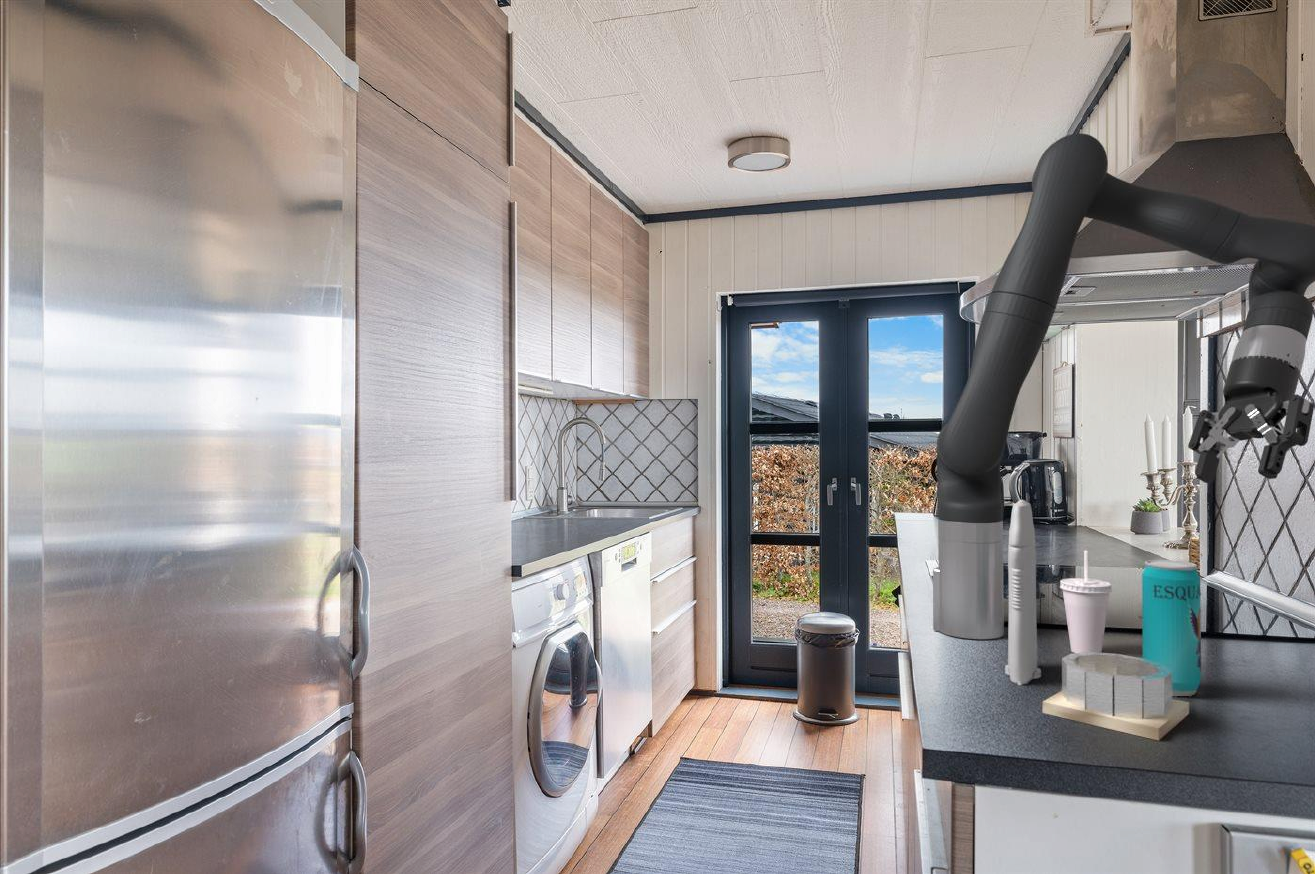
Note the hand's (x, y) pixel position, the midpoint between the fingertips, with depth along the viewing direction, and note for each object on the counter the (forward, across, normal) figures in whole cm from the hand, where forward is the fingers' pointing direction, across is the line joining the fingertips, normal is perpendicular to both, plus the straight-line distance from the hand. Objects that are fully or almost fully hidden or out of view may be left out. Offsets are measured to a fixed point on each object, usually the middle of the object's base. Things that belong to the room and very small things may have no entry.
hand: (1234, 478), depth 102 cm
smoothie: (+26, -15, 0) cm, 30 cm away
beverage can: (+29, +2, -2) cm, 29 cm away
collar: (+34, +7, -14) cm, 37 cm away
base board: (+35, +6, -13) cm, 38 cm away
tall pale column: (+34, -8, -14) cm, 37 cm away
